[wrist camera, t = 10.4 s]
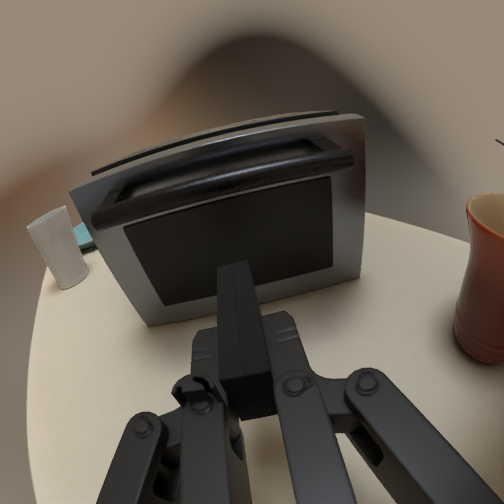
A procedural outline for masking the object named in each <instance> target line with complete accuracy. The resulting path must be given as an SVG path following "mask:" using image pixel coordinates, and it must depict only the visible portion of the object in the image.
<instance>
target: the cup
mask: <svg viewBox="0 0 504 504" xmlns="http://www.w3.org/2000/svg"><path fill="white" fill-rule="evenodd" d="M27 230H28V231H29V233H30V235H31V237H32V239H33V241H34V243H35V244H36V246H37V248H38V250H39V252H40V253H41V255H42V257H43V259H44V261H45V262H46V264H47V266H48V267H49V269H50V271H51V273H52V274H53V276H54V277H55V279H56V281H57V283H58V285H59V286H60V288H61V289H67V288H70V287H73V286H75V285H76V284H78V283H79V282H81V281H82V280H83V279H84V278H85V277H86V276H87V275H88V273H89V270H88V268H87V266H86V264H85V262H84V259H83V256H82V254H81V251H80V248H79V246H78V243H77V240H76V237H75V234H74V231H73V228H72V225H71V222H70V218H69V215H68V212H67V208H66V206H62V207H60V208H57V209H55V210H53V211H51V212H49V213H47V214H45V215H44V216H42V217H40V218H39V219H37V220H35V221H34V222H33V223H31V224H30V225H29V226H28V227H27Z"/></svg>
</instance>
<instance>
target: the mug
mask: <svg viewBox="0 0 504 504" xmlns="http://www.w3.org/2000/svg"><path fill="white" fill-rule="evenodd" d="M466 212H467V218H468V224H469V232H470V255H469V260H468V264H467V268H466V272H465V276H464V279H463V283H462V287H461V291H460V295H459V298H458V300H457V303H456V311H455V321H454V332H455V336H456V339H457V341H458V343H459V344H460V346H461V347H462V348H463V350H464V351H465V352H466V353H467V354H469V355H470V356H471V357H473V358H474V359H476V360H478V361H481V362H484V363H488V364H499V363H503V362H504V194H501V193H486V194H479V195H476V196H474V197H472V198H470V199H469V200H468V202H467V204H466Z"/></svg>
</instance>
